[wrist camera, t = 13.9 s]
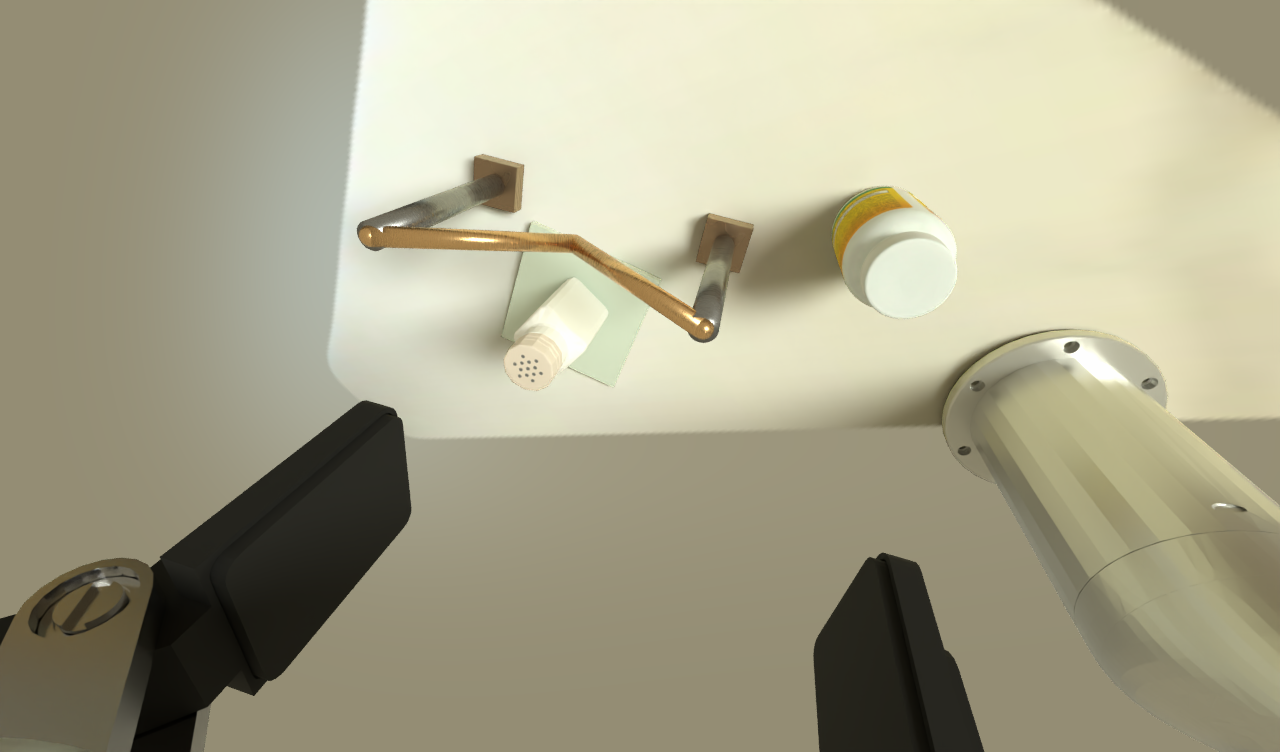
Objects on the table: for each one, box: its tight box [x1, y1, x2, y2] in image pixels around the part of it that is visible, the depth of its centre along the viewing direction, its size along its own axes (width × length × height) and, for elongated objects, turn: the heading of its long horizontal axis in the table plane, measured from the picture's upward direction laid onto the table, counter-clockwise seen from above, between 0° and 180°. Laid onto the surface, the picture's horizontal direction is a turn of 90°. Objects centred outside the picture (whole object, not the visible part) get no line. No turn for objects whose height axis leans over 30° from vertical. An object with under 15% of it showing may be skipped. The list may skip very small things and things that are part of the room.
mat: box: [501, 221, 661, 387], centre depth 39 cm, size 10×10×1 cm
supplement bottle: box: [831, 186, 957, 319], centre depth 28 cm, size 5×5×10 cm
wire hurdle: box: [357, 154, 754, 343], centre depth 29 cm, size 19×3×14 cm, turn 78°
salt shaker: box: [504, 277, 608, 391], centre depth 34 cm, size 4×4×10 cm
